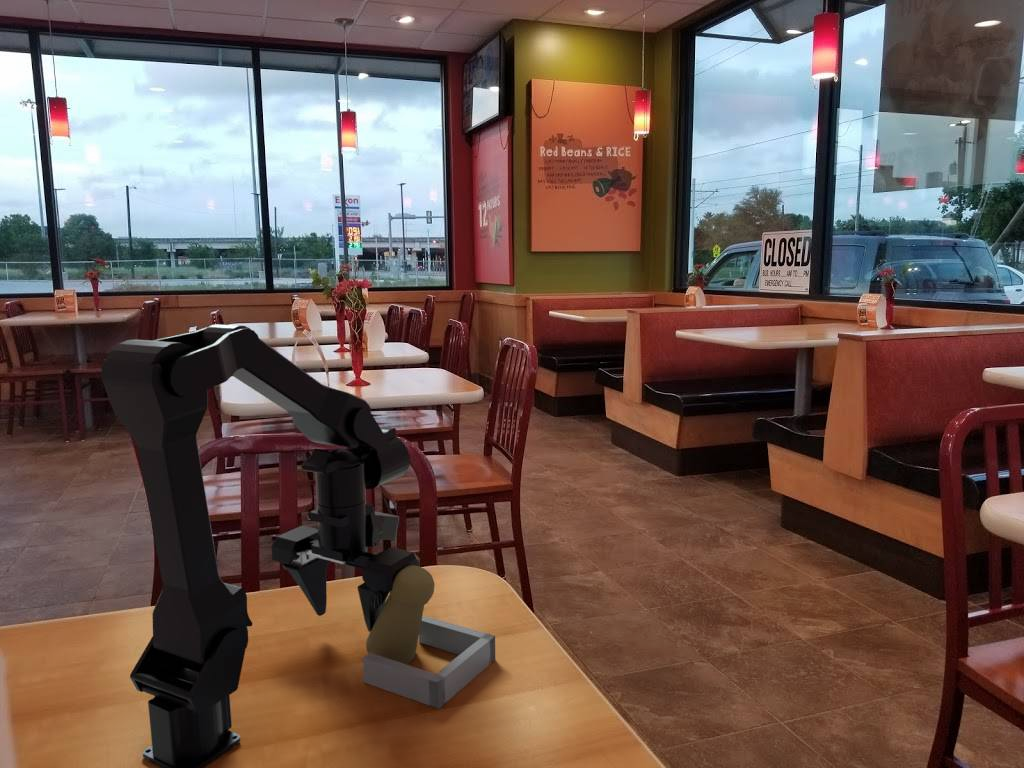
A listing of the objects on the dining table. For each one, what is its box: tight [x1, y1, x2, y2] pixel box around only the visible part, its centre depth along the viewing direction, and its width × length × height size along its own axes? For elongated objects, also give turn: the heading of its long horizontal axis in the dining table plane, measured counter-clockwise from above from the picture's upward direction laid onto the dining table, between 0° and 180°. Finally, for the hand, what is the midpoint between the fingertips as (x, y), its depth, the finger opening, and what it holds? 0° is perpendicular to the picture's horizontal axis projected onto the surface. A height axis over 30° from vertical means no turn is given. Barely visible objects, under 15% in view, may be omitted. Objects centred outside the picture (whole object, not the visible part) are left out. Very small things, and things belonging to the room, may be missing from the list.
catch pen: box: [362, 615, 496, 710], centre depth 88 cm, size 11×10×3 cm
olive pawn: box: [365, 565, 436, 665], centre depth 89 cm, size 6×6×11 cm
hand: (346, 622), depth 94 cm, fingers open, 8 cm apart
